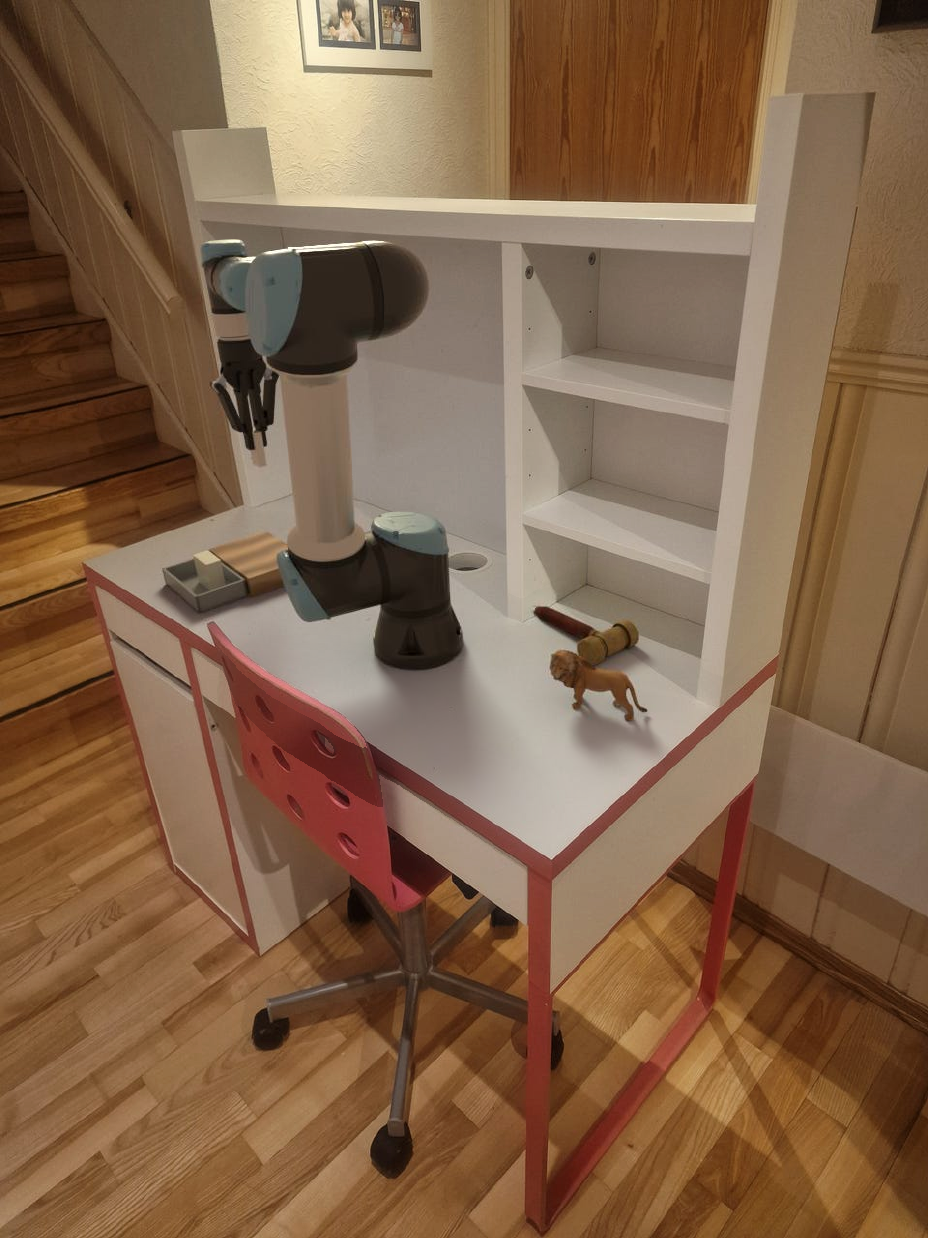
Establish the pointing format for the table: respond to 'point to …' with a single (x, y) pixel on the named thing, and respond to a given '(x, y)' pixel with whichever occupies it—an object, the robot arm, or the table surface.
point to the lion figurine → (592, 680)
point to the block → (209, 570)
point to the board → (254, 561)
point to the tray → (195, 594)
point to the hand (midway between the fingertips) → (259, 464)
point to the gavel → (592, 635)
